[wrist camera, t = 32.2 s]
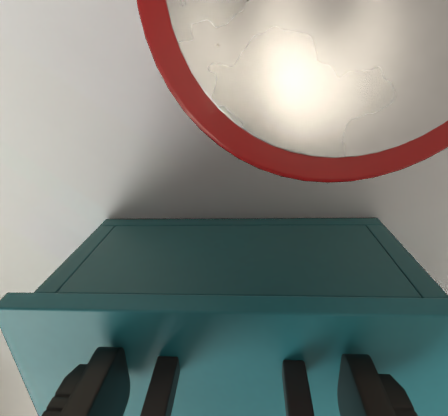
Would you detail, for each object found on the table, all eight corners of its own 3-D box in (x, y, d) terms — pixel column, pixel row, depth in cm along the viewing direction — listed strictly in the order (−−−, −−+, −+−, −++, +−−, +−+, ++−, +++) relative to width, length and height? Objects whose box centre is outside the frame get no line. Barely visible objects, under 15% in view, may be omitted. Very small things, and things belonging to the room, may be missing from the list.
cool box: (105, 218, 19) (32, 292, 12) (377, 217, 18) (450, 297, 11) (137, 396, 24) (96, 514, 17) (350, 404, 23) (390, 533, 16)
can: (190, 83, 16) (81, 99, 6) (243, -73, 14) (228, -554, 3) (312, 136, 16) (422, 240, 6) (384, -7, 14) (764, -236, 4)
